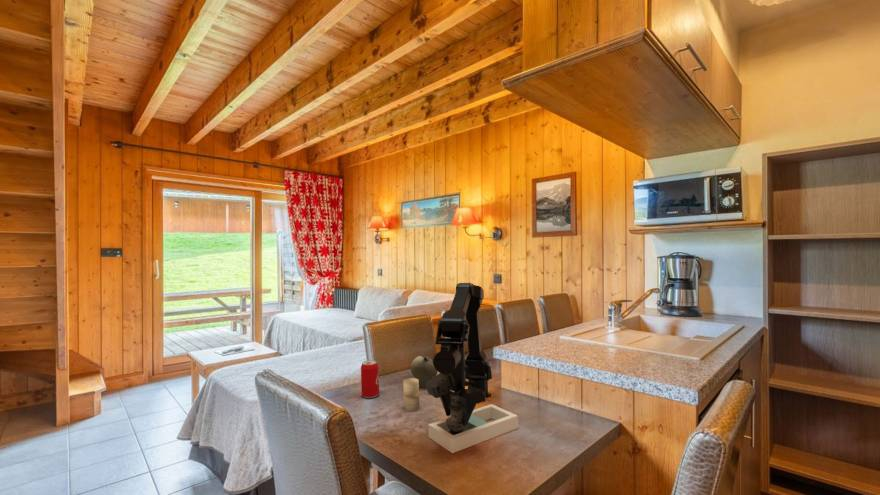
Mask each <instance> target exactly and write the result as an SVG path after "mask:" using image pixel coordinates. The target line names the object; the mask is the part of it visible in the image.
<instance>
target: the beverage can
mask: <svg viewBox="0 0 880 495" xmlns="http://www.w3.org/2000/svg"><path fill="white" fill-rule="evenodd" d="M379 370H380V369H379V364H378V362H377V361H376V360H372V359H371V360H365V361H363V362H362V363H361V365H360V384H361V385H360V386H361V387H360V388H361V396H362V397H363V398H365V399H373V398H376V397H378V396H379V395H380V378H379V376H380V374H379Z"/></svg>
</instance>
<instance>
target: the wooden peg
mask: <svg viewBox="0 0 880 495" xmlns="http://www.w3.org/2000/svg"><path fill="white" fill-rule="evenodd" d="M402 382H403V383H402V386H403V388H402V389H403V410H404V411H406V412H417V411H418V410H420V387H419V380H418V379H416V378H415V377H410V378H405V379H403V381H402Z"/></svg>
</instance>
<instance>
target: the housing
mask: <svg viewBox="0 0 880 495" xmlns="http://www.w3.org/2000/svg"><path fill="white" fill-rule="evenodd" d="M518 416H519V415H517V414H514V413H513V412H510V411H508V410H506V409H504V408H502V407H499V406H497V405H495V404H492V403H491V404H488V405H485V406H482V407H478V408H474V410H473V412H472V414H471V417H470V419H469V421H468V423H467V425H466V427H465V429H464V432H461V433H459V434H456V435H452V434H450V433H448V431H450V430H449V428H448V426H447V423H446V419H447V418H444V419H441V420H437V421H435V422H432V423H429V424H428V426H427V428H428V438H429V439H430V440H432V441H433V442H435V443H437V444H438V445H439V446H441V447H443V448H444V449H445V450H446V451H449V453H452V454H454V453H456V452H460V451H462V450H465V449H467V448H470V447H473V446H475V445H478V444H479V443H483V442H485V441H488V440H491V439H493V438H497V437H498V436H499V437H500V436H501V435H504V434H506V433H509V432H511V431H515V430H517V429H518V428H519V418H518ZM491 419H492V420H493V421H490V422H488V420H491Z"/></svg>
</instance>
